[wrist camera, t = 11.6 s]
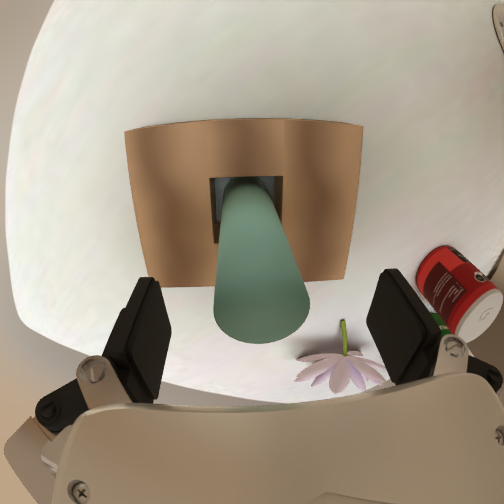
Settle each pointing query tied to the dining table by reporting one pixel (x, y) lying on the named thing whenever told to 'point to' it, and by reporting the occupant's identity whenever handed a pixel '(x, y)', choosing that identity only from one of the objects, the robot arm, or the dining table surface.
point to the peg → (256, 268)
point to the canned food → (458, 292)
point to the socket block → (237, 165)
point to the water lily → (341, 368)
